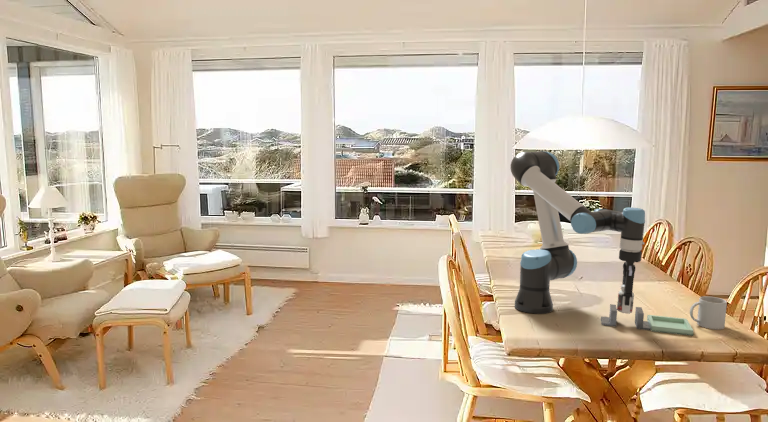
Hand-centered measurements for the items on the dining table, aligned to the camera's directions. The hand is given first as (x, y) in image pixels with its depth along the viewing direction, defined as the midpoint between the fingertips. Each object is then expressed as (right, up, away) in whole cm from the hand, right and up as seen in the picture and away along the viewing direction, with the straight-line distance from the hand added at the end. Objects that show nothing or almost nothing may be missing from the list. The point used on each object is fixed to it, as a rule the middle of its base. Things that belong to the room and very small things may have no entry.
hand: (625, 310), depth 208 cm
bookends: (0, -5, 0) cm, 5 cm away
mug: (+31, -6, 0) cm, 31 cm away
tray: (+15, -6, -3) cm, 16 cm away
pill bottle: (0, -1, 0) cm, 1 cm away
